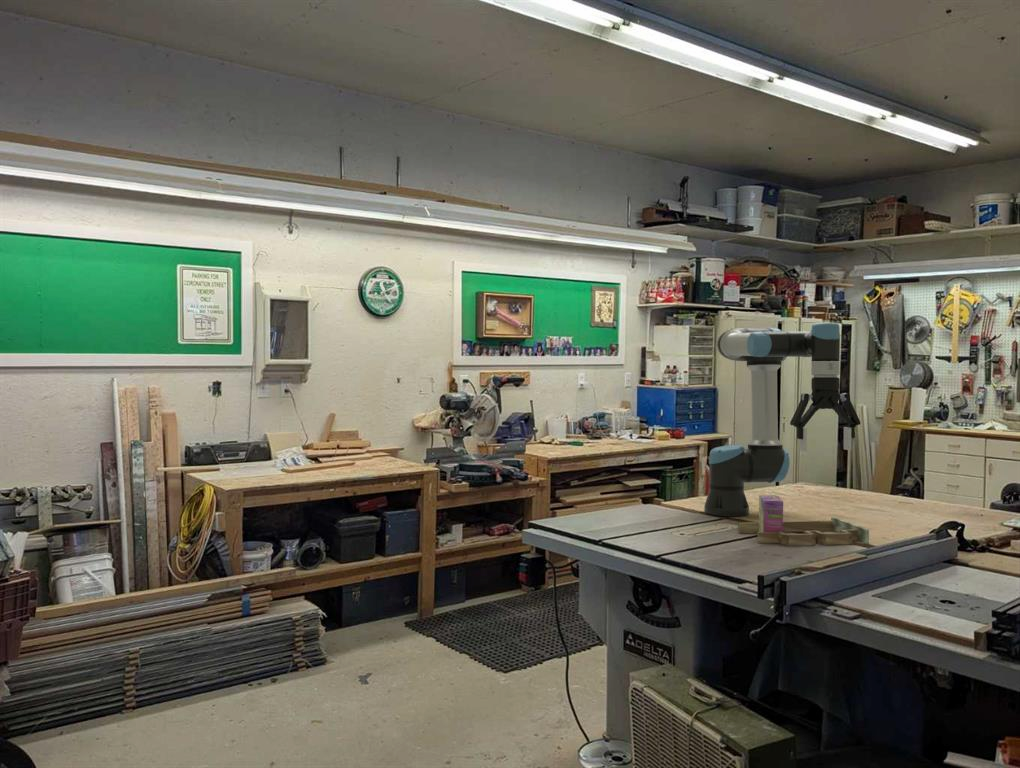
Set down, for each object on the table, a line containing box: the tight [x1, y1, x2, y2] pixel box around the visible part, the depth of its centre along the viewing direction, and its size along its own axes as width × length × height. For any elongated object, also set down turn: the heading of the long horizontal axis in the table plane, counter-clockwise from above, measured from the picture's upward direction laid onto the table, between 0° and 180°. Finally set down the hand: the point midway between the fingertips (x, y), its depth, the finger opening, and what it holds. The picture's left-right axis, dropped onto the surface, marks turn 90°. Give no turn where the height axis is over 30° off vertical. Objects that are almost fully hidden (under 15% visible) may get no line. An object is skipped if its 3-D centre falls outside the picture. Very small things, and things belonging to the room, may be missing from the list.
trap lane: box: [737, 516, 870, 547], centre depth 228 cm, size 19×31×4 cm, turn 96°
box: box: [758, 494, 784, 533], centre depth 229 cm, size 10×6×12 cm, turn 168°
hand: (825, 450), depth 221 cm, fingers open, 13 cm apart
